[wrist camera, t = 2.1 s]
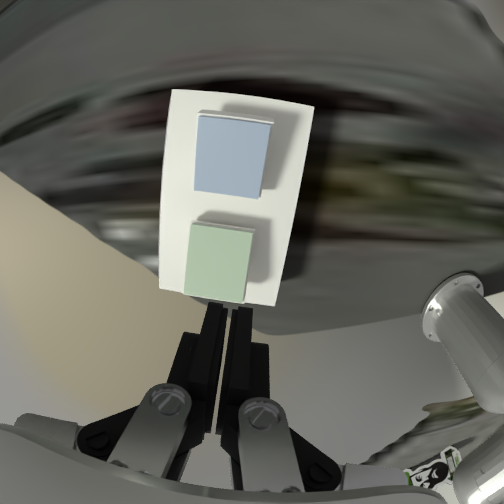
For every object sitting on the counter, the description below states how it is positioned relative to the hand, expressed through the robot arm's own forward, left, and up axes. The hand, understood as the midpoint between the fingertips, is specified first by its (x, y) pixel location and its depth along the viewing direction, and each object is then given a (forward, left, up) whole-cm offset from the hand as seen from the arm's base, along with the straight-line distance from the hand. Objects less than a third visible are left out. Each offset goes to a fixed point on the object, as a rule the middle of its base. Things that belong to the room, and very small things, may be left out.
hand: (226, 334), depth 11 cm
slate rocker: (+2, -5, -16) cm, 17 cm away
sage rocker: (+2, +5, -16) cm, 17 cm away
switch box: (+2, 0, -23) cm, 23 cm away
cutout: (-69, +73, -23) cm, 103 cm away
